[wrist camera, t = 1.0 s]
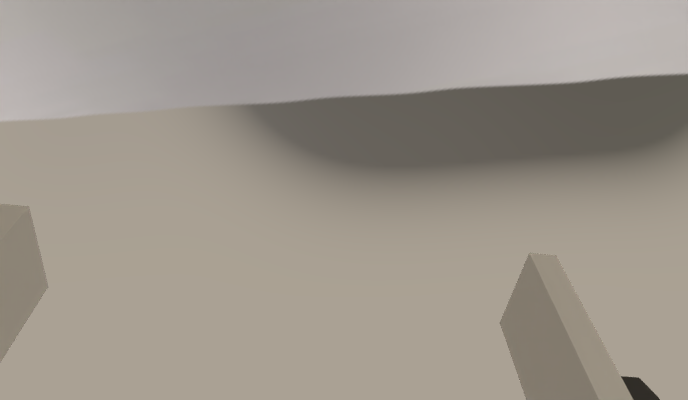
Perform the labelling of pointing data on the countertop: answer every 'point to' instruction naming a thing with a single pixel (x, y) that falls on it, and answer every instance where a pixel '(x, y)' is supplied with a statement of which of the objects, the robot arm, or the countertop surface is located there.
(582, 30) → the countertop surface
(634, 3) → the countertop surface
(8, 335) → the robot arm
